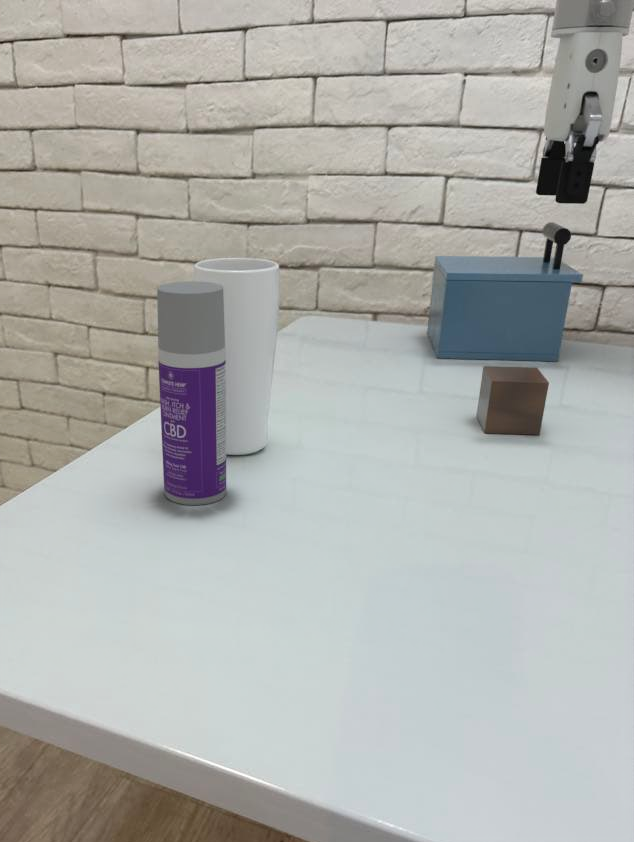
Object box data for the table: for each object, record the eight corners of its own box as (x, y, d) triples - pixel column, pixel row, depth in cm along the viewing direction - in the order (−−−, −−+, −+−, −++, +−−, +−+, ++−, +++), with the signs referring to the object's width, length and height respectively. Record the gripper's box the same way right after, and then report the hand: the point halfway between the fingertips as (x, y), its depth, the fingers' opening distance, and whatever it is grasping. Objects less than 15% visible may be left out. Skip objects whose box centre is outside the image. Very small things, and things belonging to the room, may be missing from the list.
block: (528, 417, 77) (537, 367, 74) (539, 435, 72) (549, 382, 70) (476, 416, 77) (483, 365, 75) (484, 433, 73) (491, 380, 71)
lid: (554, 264, 101) (562, 219, 99) (581, 282, 90) (591, 232, 88) (434, 262, 103) (439, 218, 100) (446, 280, 92) (451, 230, 89)
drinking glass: (183, 454, 69) (178, 267, 62) (215, 428, 74) (213, 255, 67) (259, 465, 66) (262, 273, 59) (286, 438, 72) (291, 260, 65)
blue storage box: (534, 335, 105) (546, 264, 101) (557, 361, 94) (572, 282, 90) (427, 333, 107) (434, 263, 103) (437, 358, 96) (446, 280, 92)
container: (157, 503, 60) (147, 292, 53) (172, 478, 64) (164, 280, 57) (220, 507, 59) (218, 294, 52) (231, 482, 63) (230, 281, 56)
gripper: (658, 10, 76) (617, 207, 84) (605, 27, 92) (574, 193, 99) (575, 10, 77) (542, 206, 85) (536, 27, 92) (511, 192, 100)
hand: (559, 198), depth 92 cm, fingers open, 9 cm apart
